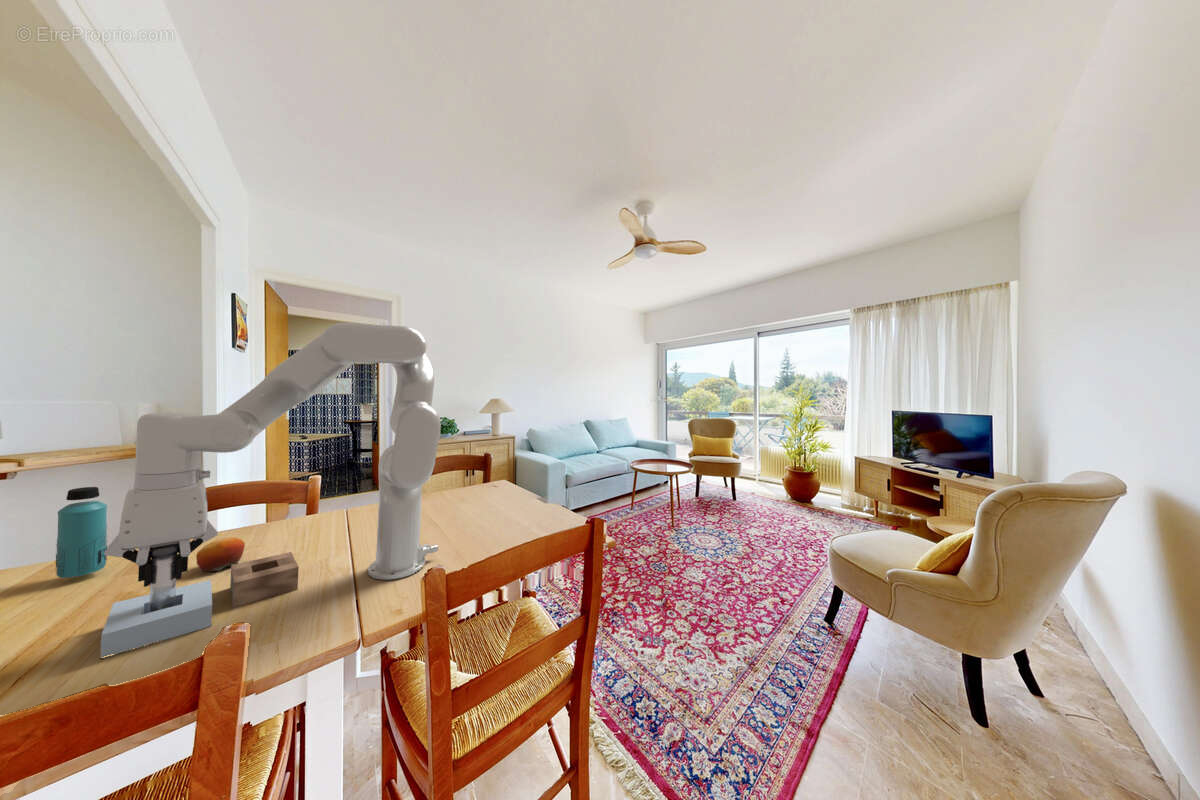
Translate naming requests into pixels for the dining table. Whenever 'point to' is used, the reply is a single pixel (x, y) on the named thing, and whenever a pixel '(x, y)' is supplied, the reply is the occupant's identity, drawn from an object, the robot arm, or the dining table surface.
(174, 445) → the robot arm
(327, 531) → the dining table surface
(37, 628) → the dining table surface
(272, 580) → the block
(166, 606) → the pin
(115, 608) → the dock
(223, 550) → the fruit
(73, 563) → the beverage bottle
